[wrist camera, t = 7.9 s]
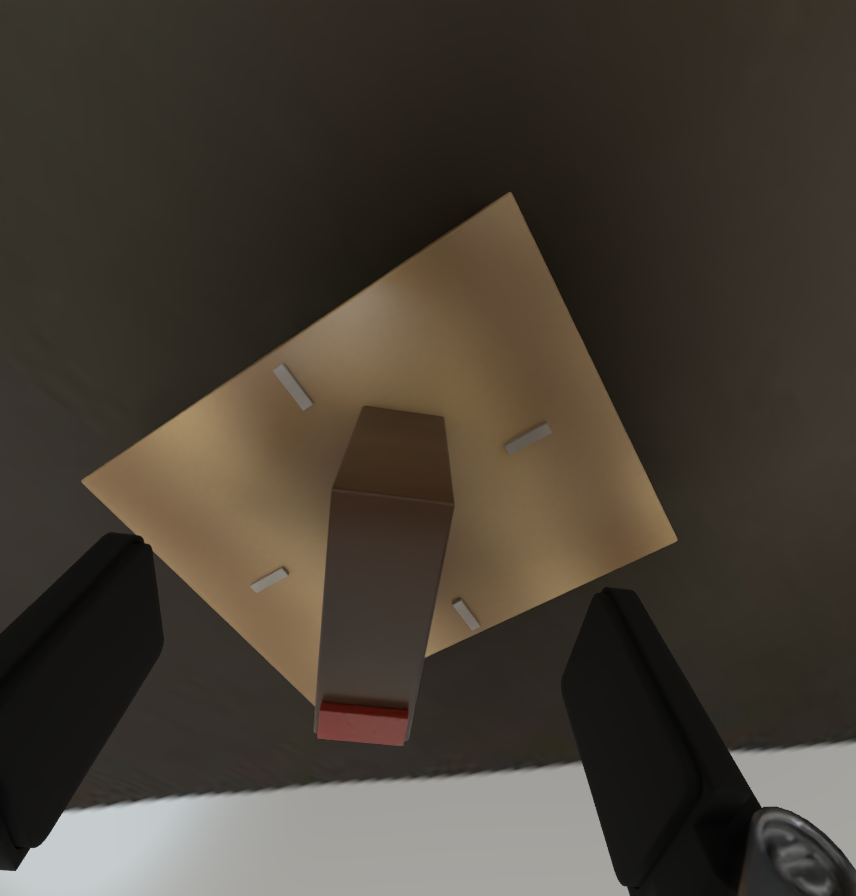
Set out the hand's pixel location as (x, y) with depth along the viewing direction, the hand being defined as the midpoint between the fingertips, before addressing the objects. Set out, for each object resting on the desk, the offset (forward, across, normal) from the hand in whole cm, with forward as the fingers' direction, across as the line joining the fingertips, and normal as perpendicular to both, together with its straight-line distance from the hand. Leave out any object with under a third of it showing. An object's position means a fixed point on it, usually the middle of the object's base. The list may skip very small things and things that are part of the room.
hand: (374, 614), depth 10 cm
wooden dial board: (+9, 0, +1) cm, 9 cm away
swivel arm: (+5, 0, +1) cm, 5 cm away
